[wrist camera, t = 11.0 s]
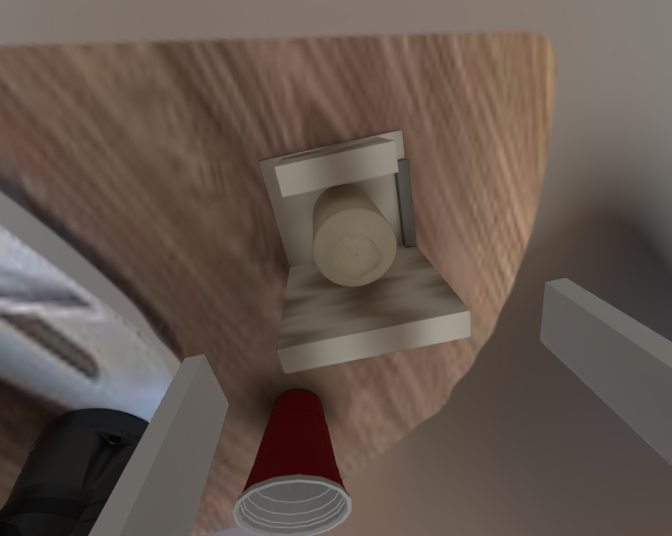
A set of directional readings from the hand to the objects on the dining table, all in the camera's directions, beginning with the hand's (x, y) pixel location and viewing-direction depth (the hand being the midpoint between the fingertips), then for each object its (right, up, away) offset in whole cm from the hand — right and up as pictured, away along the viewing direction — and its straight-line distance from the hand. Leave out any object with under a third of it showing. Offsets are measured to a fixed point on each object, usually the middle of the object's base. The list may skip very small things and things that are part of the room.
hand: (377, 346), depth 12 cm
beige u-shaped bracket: (-1, +8, +17) cm, 19 cm away
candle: (-1, +8, +16) cm, 18 cm away
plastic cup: (-6, -14, +27) cm, 31 cm away
